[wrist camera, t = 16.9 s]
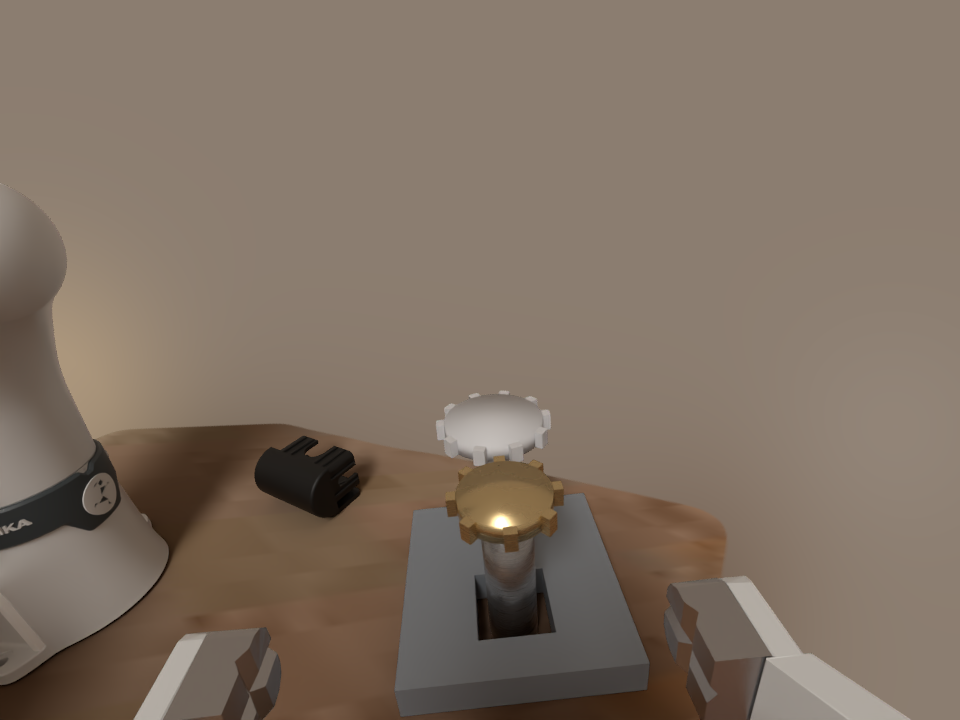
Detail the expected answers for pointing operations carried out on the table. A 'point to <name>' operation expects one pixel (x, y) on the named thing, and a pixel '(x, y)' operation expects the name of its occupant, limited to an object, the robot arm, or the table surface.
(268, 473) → the end cap
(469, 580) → the gear board
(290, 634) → the table surface
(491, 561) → the gear axle
